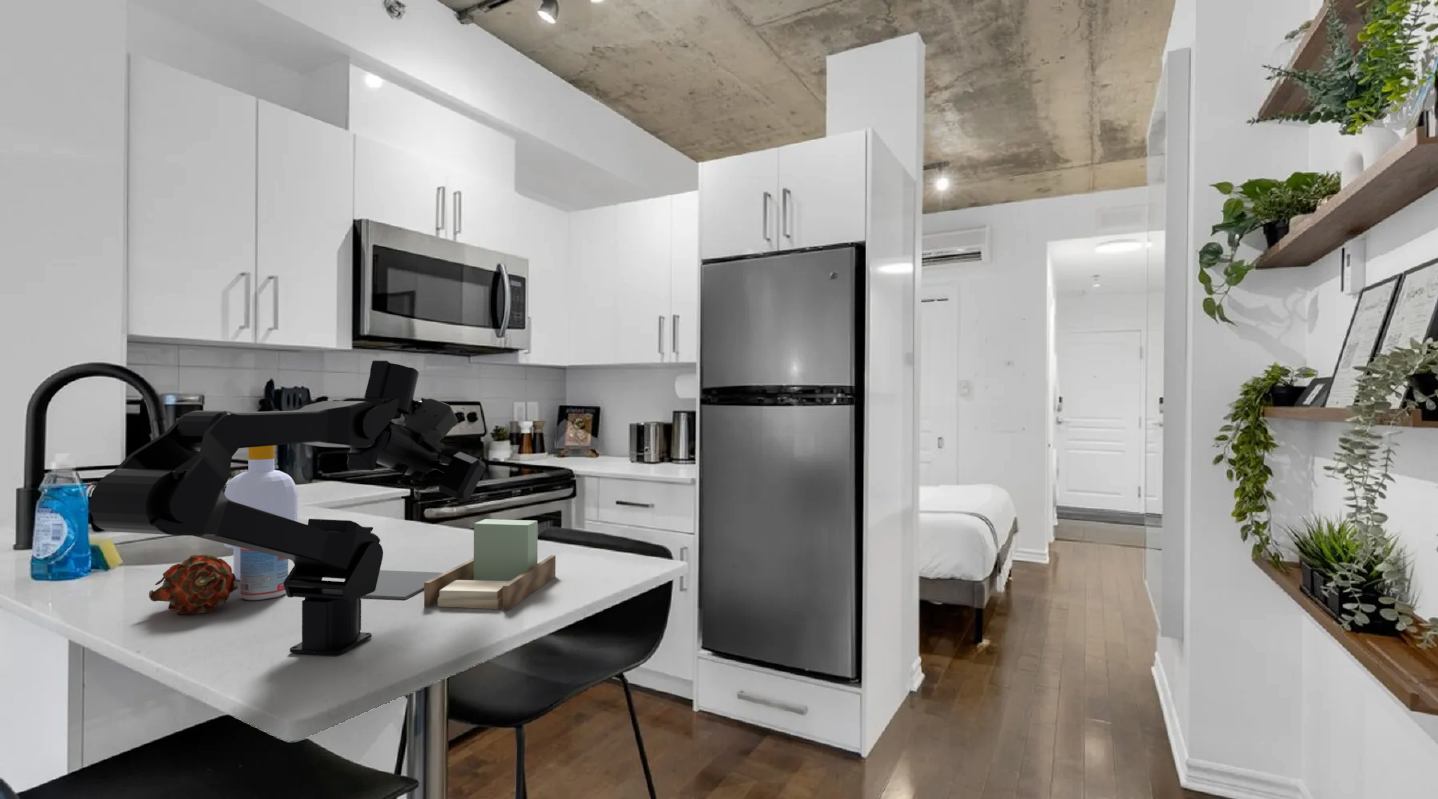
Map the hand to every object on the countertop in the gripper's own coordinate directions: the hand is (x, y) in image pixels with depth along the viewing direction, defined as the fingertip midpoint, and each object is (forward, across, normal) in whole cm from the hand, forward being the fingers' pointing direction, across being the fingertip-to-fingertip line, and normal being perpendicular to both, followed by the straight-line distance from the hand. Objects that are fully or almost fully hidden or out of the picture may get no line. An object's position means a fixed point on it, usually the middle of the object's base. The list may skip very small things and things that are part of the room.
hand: (452, 473), depth 110 cm
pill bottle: (-3, +17, +28) cm, 33 cm away
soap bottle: (+6, +27, +28) cm, 39 cm away
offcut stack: (+1, -13, +15) cm, 20 cm away
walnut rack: (+6, -12, +14) cm, 19 cm away
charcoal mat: (+6, +5, +20) cm, 21 cm away
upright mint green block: (+10, -12, +12) cm, 20 cm away
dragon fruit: (-10, +20, +31) cm, 38 cm away
